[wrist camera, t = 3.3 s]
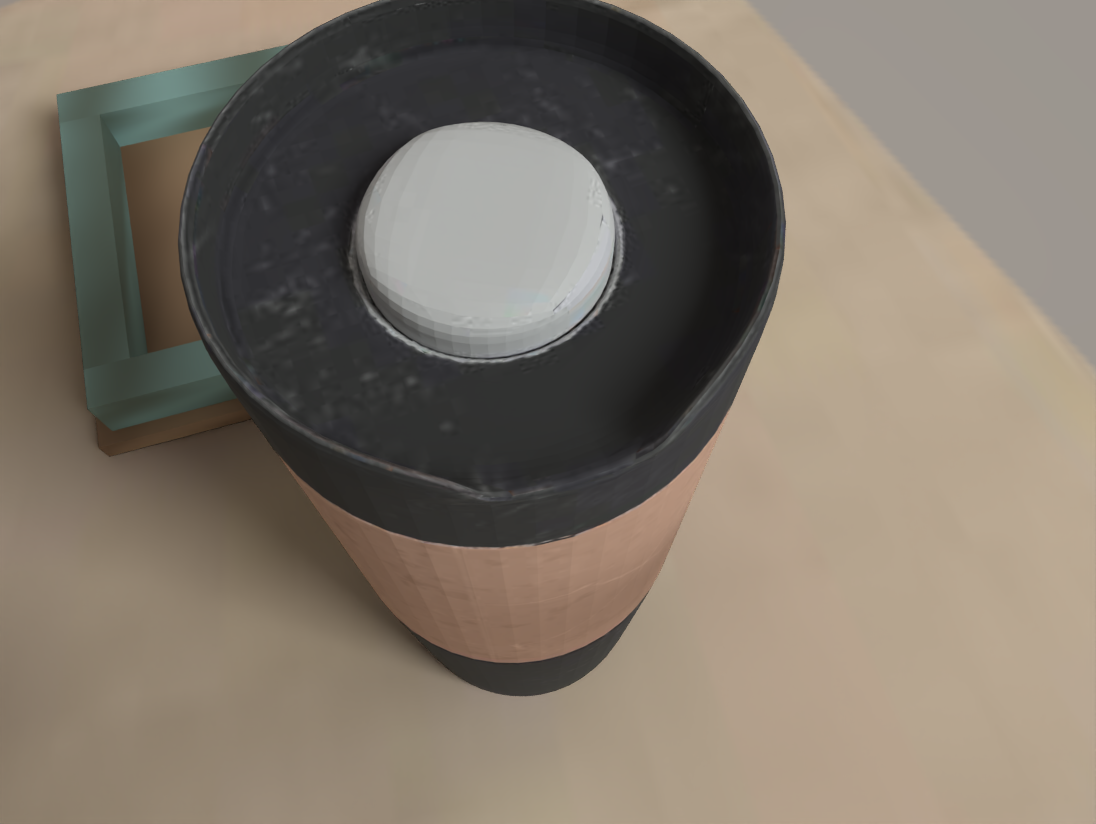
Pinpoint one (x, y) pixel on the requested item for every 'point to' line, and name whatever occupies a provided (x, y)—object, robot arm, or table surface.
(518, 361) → the travel mug
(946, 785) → the table surface
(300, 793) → the table surface
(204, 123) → the coaster dock
